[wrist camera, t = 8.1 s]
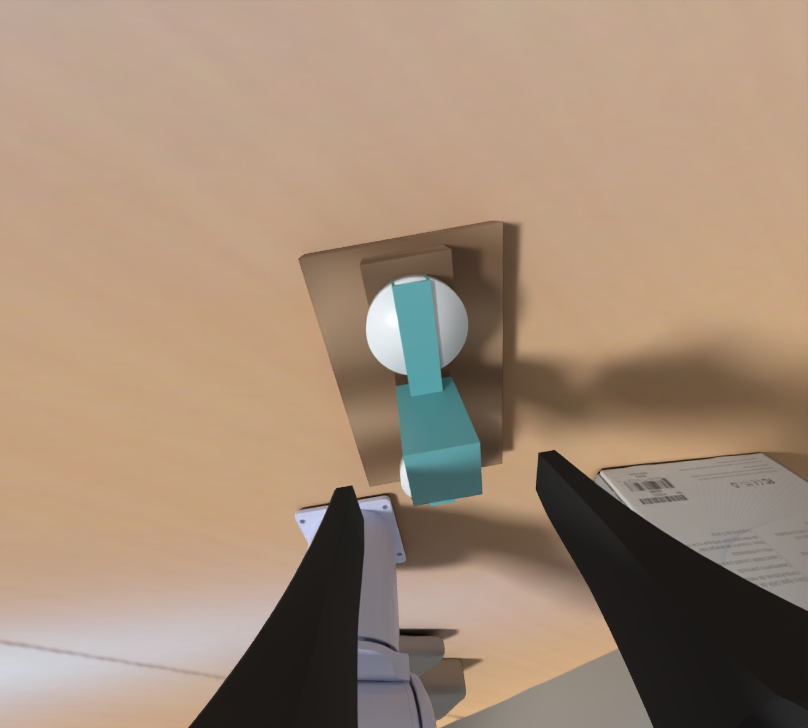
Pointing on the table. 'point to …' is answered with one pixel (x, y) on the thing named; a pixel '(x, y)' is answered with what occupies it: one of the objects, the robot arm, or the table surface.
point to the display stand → (376, 384)
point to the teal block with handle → (427, 386)
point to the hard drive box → (727, 514)
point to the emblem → (435, 671)
